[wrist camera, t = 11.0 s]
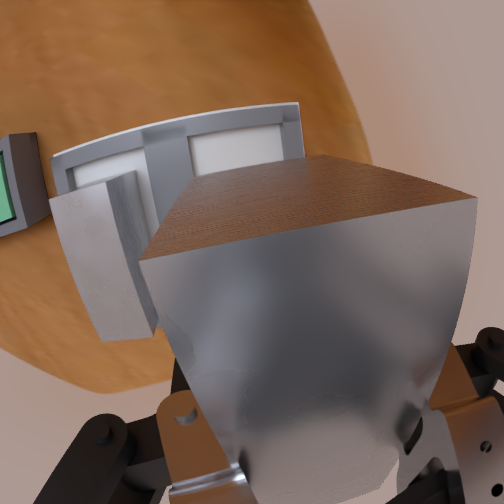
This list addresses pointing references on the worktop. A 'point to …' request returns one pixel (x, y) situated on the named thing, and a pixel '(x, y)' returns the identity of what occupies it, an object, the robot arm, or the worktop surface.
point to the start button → (5, 194)
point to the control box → (24, 182)
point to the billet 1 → (108, 254)
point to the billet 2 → (311, 314)
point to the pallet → (184, 152)
